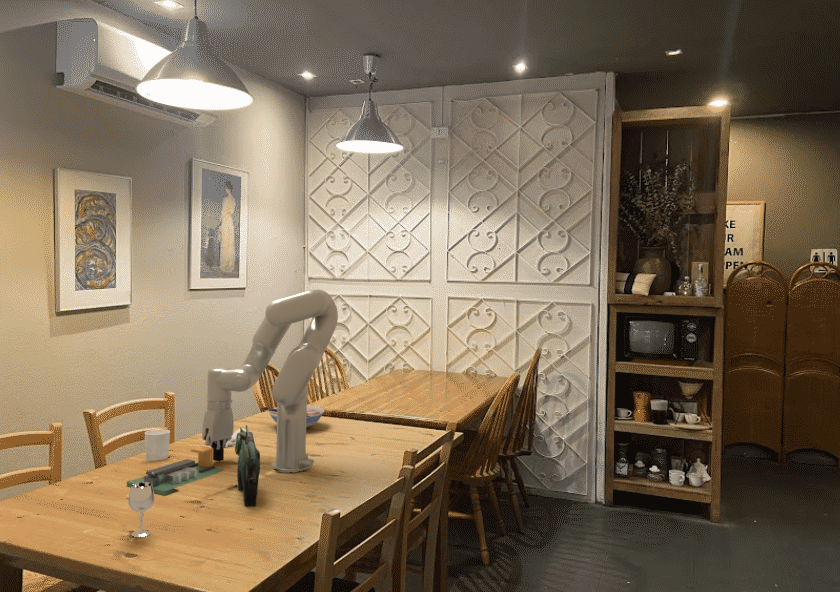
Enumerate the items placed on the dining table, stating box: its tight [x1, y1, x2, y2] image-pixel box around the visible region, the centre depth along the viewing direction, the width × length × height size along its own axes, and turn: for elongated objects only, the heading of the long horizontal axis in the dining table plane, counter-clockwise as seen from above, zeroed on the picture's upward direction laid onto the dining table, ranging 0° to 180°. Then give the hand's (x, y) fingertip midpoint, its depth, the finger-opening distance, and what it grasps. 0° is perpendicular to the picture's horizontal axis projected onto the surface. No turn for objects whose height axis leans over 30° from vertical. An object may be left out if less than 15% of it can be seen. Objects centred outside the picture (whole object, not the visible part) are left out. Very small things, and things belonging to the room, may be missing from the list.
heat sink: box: [143, 463, 197, 487], centre depth 195 cm, size 12×14×2 cm
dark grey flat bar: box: [145, 458, 196, 477], centre depth 196 cm, size 4×16×1 cm, turn 153°
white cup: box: [144, 428, 171, 463], centre depth 217 cm, size 8×8×10 cm
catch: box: [190, 446, 214, 467], centre depth 207 cm, size 5×4×6 cm
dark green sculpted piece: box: [234, 424, 261, 508], centre depth 185 cm, size 20×6×20 cm, turn 21°
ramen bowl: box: [260, 405, 325, 428], centre depth 269 cm, size 25×23×8 cm
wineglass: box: [127, 482, 155, 538], centre depth 157 cm, size 6×6×12 cm
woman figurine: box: [224, 427, 250, 449], centre depth 243 cm, size 12×4×18 cm
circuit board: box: [126, 461, 226, 496], centre depth 198 cm, size 16×24×2 cm, turn 153°
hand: (218, 460), depth 213 cm, fingers closed
